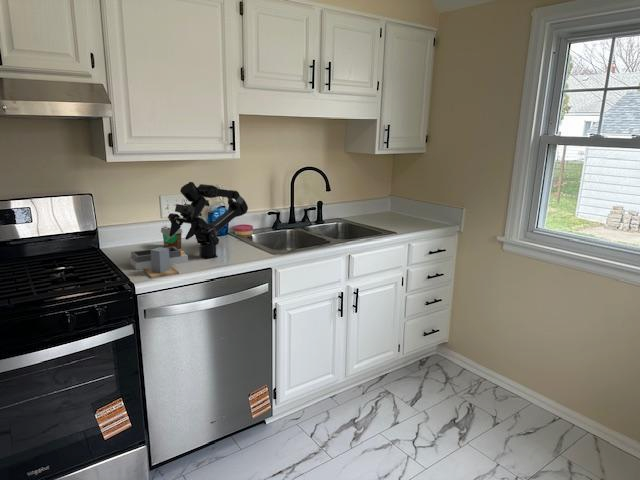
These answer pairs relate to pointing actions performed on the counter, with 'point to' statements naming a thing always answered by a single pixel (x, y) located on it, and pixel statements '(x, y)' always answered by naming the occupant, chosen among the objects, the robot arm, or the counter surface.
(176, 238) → the food container
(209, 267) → the counter surface
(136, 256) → the power strip
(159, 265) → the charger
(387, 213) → the counter surface
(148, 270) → the walnut board
